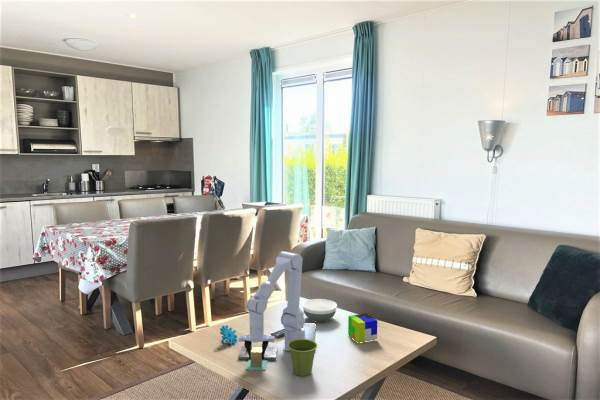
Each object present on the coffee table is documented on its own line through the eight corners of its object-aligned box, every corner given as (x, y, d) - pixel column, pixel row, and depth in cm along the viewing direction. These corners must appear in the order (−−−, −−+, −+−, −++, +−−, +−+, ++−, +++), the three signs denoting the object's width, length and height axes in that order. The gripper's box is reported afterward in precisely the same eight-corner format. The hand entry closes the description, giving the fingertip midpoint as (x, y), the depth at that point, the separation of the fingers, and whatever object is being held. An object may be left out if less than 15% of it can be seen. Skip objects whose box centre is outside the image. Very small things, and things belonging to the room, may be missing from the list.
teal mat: (267, 360, 176) (267, 360, 176) (265, 370, 168) (265, 369, 168) (248, 360, 176) (248, 359, 176) (245, 370, 168) (245, 369, 168)
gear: (230, 345, 187) (218, 326, 190) (221, 352, 188) (209, 334, 192) (243, 339, 197) (231, 321, 200) (235, 346, 198) (223, 329, 202)
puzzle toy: (376, 340, 196) (377, 320, 195) (358, 344, 193) (358, 323, 192) (366, 332, 206) (366, 313, 205) (348, 335, 202) (348, 315, 201)
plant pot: (323, 371, 167) (323, 344, 166) (303, 382, 159) (304, 354, 158) (301, 361, 175) (301, 336, 174) (281, 372, 167) (281, 345, 165)
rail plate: (277, 349, 186) (277, 346, 186) (275, 360, 176) (275, 357, 176) (242, 349, 187) (242, 346, 186) (238, 359, 177) (238, 356, 177)
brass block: (262, 361, 174) (262, 347, 174) (261, 366, 170) (261, 352, 169) (252, 361, 174) (252, 347, 174) (250, 366, 170) (250, 352, 169)
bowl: (319, 329, 209) (319, 313, 209) (294, 318, 223) (294, 303, 222) (344, 320, 222) (344, 304, 221) (319, 310, 236) (319, 296, 235)
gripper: (237, 330, 167) (237, 362, 168) (273, 330, 166) (273, 363, 168) (240, 323, 174) (240, 354, 175) (274, 323, 173) (274, 355, 175)
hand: (256, 358), depth 172 cm, fingers closed on brass block, 4 cm apart
